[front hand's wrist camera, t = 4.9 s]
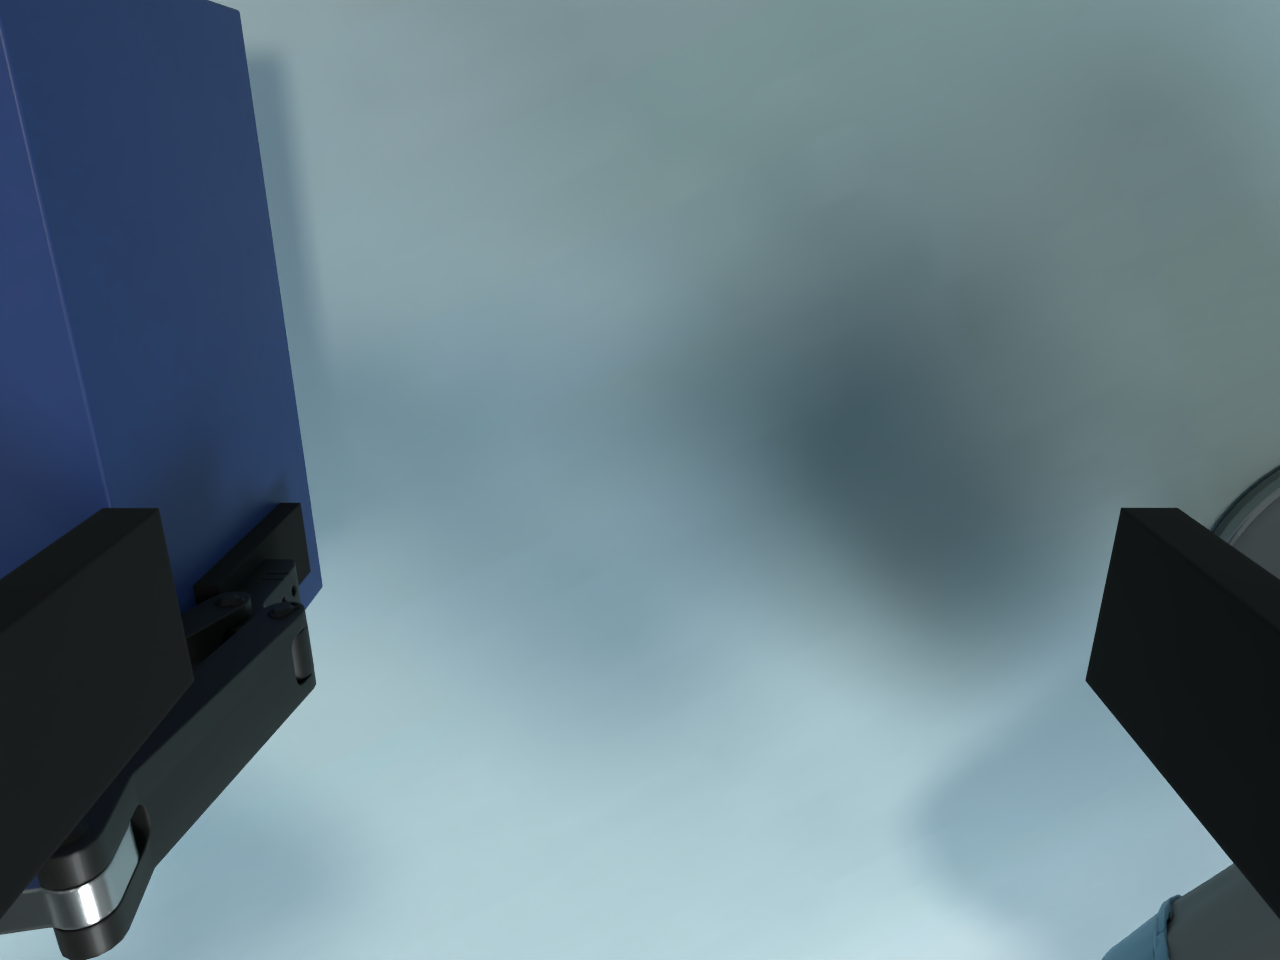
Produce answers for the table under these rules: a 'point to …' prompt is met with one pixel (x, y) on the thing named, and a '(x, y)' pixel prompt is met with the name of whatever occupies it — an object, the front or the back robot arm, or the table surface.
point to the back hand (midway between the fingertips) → (182, 538)
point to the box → (139, 284)
